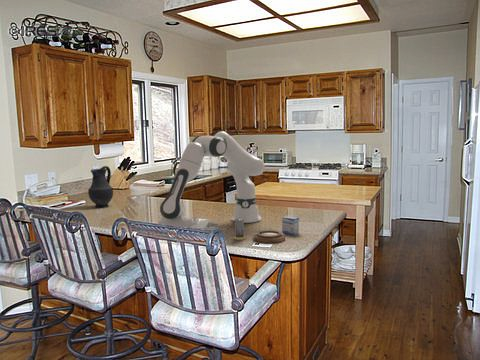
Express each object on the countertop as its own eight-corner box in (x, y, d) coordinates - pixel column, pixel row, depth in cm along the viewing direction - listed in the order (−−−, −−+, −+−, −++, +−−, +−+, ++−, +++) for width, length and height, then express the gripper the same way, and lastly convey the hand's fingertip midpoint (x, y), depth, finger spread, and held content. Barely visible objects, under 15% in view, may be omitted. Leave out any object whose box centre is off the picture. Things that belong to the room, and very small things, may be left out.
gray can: (234, 237, 210) (233, 218, 209) (246, 237, 210) (246, 218, 209) (232, 240, 204) (232, 220, 203) (245, 240, 203) (245, 220, 202)
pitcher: (84, 208, 298) (81, 167, 294) (101, 203, 317) (99, 165, 314) (104, 209, 293) (102, 168, 289) (121, 204, 312) (119, 165, 309)
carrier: (254, 234, 214) (254, 229, 214) (284, 235, 213) (284, 229, 212) (252, 243, 198) (252, 237, 198) (285, 243, 197) (285, 237, 196)
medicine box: (281, 233, 217) (281, 217, 216) (286, 231, 220) (286, 215, 219) (294, 235, 212) (294, 219, 211) (299, 233, 216) (299, 217, 215)
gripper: (185, 225, 198) (213, 225, 197) (193, 216, 218) (219, 216, 217) (185, 238, 199) (213, 238, 198) (194, 228, 219) (219, 228, 218)
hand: (216, 227), depth 207 cm, fingers open, 8 cm apart
